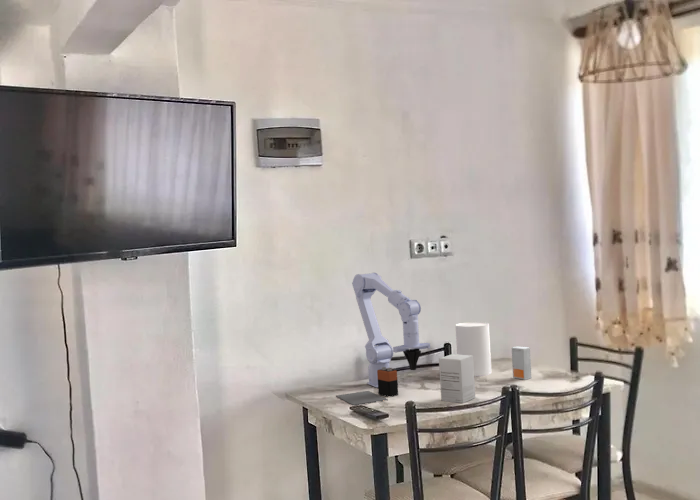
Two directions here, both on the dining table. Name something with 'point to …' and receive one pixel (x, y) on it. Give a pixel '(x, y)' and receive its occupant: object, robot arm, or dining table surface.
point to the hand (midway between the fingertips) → (413, 369)
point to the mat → (361, 397)
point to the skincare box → (521, 362)
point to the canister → (475, 345)
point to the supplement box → (457, 378)
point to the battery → (387, 382)
